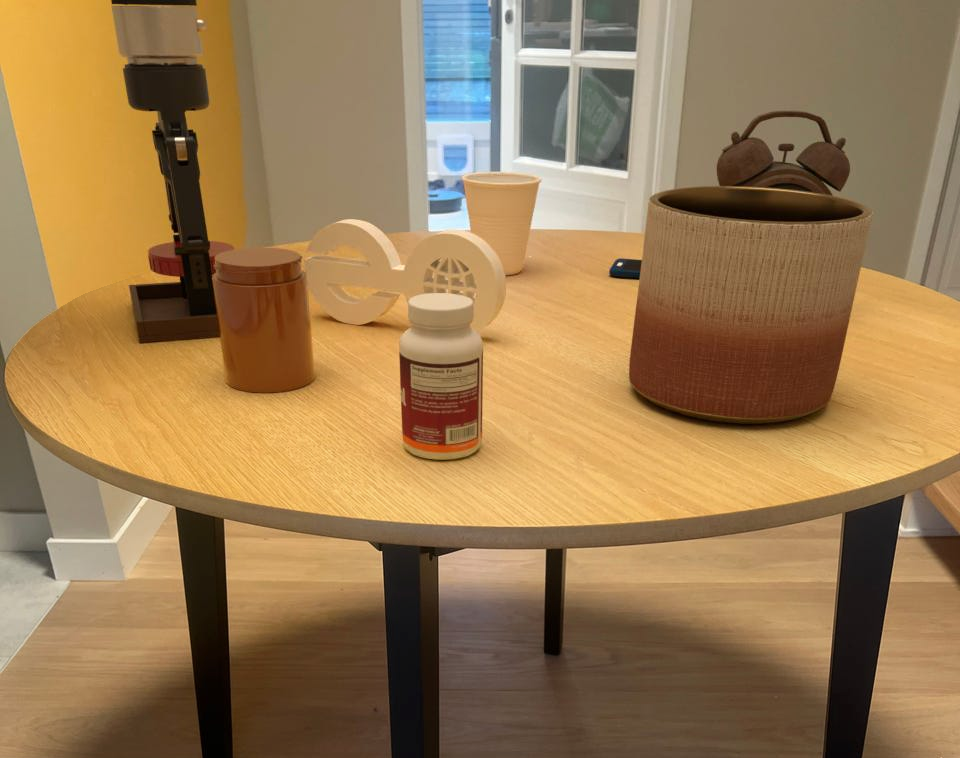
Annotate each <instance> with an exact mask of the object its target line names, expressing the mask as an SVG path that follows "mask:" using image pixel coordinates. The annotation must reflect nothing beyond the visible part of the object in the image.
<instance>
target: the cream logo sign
mask: <svg viewBox="0 0 960 758" xmlns="http://www.w3.org/2000/svg"><path fill="white" fill-rule="evenodd" d="M342 247H350V248H353V249H355V250H357V251H358V252H359V253H361V255H362V256H364V258H365V259H366V260H364V259H356V258H348V257H339V256H331V255H329V254H332V253H334V252H337V251H339V250H340V249H341V248H342ZM305 252H306V253H313V254H314V255H311V256H309V257H306V258H305V259H304V271H305V272H306V274H307V283H308V290H309V291H310V293H311V295H312V296H313V298H314V300H315V302H316V303H317V304H318V305H319V307H320V308H321V309H322V310H323V311H324V312H325V313H326V314H328V315H329V316H330V317H332V318H333V319H334V320H337V321H338V322H340V323H344V324H348V325H357V326H358V325H359V326H360V325H361V326H362V325H365V324H369V323H372V322H373V321H375V320H378V319H379V318H381V317H383V316H384V315H386V314H387V313H388V312H390V311H391V309H392V308H393V307H394V306H395V305H396V303H397V302H398V300H399V298H400V296H401V294H404V297H405V300H406V304H408V301H409V299H410V298H412V297H414V296H417V295H422V294H429V293H449V294H457V295H462V296H466V297H469V298H470V299H472V300H473V305H474V318H473V321H472V323H471V324H470V327H471V328H473V329H474V330H475V331H477V332H478V333H479V332H480V331H482V330H484V329H485V328H486V327H488V326H490V325H491V324H492V323H493V322H494V320H496V318H497V317H498V315H499V314H500V312H501V311H502V309H503V306H504V304H505V300H506V292H507V278H506V275H505V273H504V269H503V266H502V264H501V261H500V259H499V257H498V256H497V254H496V253H495V252H494V250H493V249H492V248H491V247H490V246H489V245H488V243H487V242H485V241H484V240H483V239H481V238H480V237H478V236H477V235H475V234H472V233H471V231H467V230H462V229H446V230H443V231H440V232H437V233H435V234H432V235H430V236H428V237H426V238H424V239H423V240H422V241H420V242H419V243H417V244H416V246H414V247H413V249H412V250H411V252H409V255H408V257H407V259H406V261H405V264H402V262H401V259H400V256H399V253H398V251H397V249H396V248H395V246H394V244H393V243H392V241H391V240H390V239H389V238H388V236H387V235H386V234H385V232H383V231H382V230H380V228H378V227H377V226H375V225H374V224H373V223H370V222H368V221H365V220H362V219H354V218H353V219H352V218H351V219H350V218H347V219H342V220H339V221H336V222H333V223H330V224H328V225H326V226H324V227H322V228H320V229H319V230H318V231H317V232H316V233H315V234H314V235H313V236H312V238H311V240H310V242H309V243H308V246H307V248H306V250H305ZM446 278H447V279H446ZM461 279H462V281H461ZM342 286H346V287H354V288H361V289H367V290H376V291H375V292H374V293H371V294H369V295H367V296H366V297H365V298H359V297H356V296H353V295H352V294H351V295H350V294H349V293H348V292H347V291H346V290H345V289H344V288H343V287H342ZM447 290H448V292H447ZM475 294H476V296H475V298H474V295H475Z"/></svg>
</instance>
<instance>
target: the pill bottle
mask: <svg viewBox="0 0 960 758" xmlns="http://www.w3.org/2000/svg"><path fill="white" fill-rule="evenodd" d="M473 318H474V305H473V300H472V299H470V298H469V297H466V296H462V295H457V294H449V293H448V292H447V293H429V294H422V295H417V296H414V297H412V298H410V299H409V301H408V303H407V319H408V322H409V323H410V324H411V327H409V328H408V329H406V330H405V331H404V332H403V333H402V334H401V336H400V339H399V343H398V345H399V346H398V350H399V351H398V355H399V384H400V385H399V388H400V393H399V394H400V409H401V411H400V412H401V413H400V414H401V436H402V437H401V438H402V443H403V446H404V448H405V449H406V451H408V452H409V453H410V454H412V455H414V456H416V457H419V458H423V459H429V460H438V461H439V460H440V461H441V460H442V461H444V460H445V461H447V460H448V461H449V460H457V459H461V458H465V457H468V456H471V455H472V454H474V453H475V452H476V451H478V449H479V448H480V447H481V445H482V441H483V440H482V439H483V397H484V395H483V394H484V393H483V392H484V391H483V390H484V386H483V385H484V343H483V342H484V341H483V339H482V337H481V335H480V334H479V332H477V331H475V330H474V329H473V328H471V327H470V324H471V323H472V321H473Z"/></svg>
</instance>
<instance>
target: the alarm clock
mask: <svg viewBox="0 0 960 758" xmlns="http://www.w3.org/2000/svg"><path fill="white" fill-rule="evenodd" d="M774 118H801V119H802V118H803V119H807V120H810V121H813V122H815V123H816V124H817V125H818V127H819V130H820V132H821V135H822V138H823V141H816V142H812V143H810V144H809V145H808V146H807V147H805V148H804V149H803V150H802V151H801V153H799V154H798V156H797V157H796V158H795V162H797V164H796V163H792V162H786V159H787V155H788V152H792V151H793V152H794V150H795V144H793V143H780V144H779V145H778V146H777V149H778V151H779V152H783V155H782V161H778V160H774V159H775V158H774V155H773V153H772V151H771V150H770V147H768V144H766V142H765V140H763V139H761V138H759V137H754V136H751V134H752V133H753V131H754V130H755V129H756V128H757V126H758V125H759V124H761V122H764V121H765V122H766V121H768V120H771V119H774ZM750 136H751V137H750ZM730 139H731V142H732V143H731V144H729V145H727V146H725V147H724V148H722V149H721V151H722V152H721V153H720V156H719V157H718V159H717V162H716V163H717V164H716V178H717V182H718V186H747V187H766V188H779V189H790V190H799V191H807V192H814V193H820V194H826V195H831V196H834V195H833V193H832V192H831V191H832V190H830V189H829V187H830V188H832V189H834V190H835V191H837V192H839V193H840V192H842V190H843V188H844V187H845V185H846V183H847V181H848V179H849V176H850V174H851V164H850V160H849V157H848V156H847V155H846V154H845V153H846V152H845V151H844V150H843V148H844V146H845V145H846V142H847V140H846V138H845V137H840V138H838V139H837V141H836V142H835V143H834V142H833V141H832V137H831V134H830V131H829V128H828V125H827V123H826V121H825V120H824V118H822V116H819V115H817V114H813V113H810V112H807V111H802V110H801V111H800V110H772V111H769V112H765V113H762V114H759V115H757V116H756V117H754V118H752V119H751V121H750V123H749V124H748V126H746V128H745V129H744V131H743V133H742V134H741V135H740V133H739V132H737V131H733V132H732V133H731V135H730ZM798 164H799V165H798Z"/></svg>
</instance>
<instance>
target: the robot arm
mask: <svg viewBox="0 0 960 758" xmlns="http://www.w3.org/2000/svg"><path fill="white" fill-rule="evenodd" d="M110 1H111V11H112V16H113V18H112V19H113V23H114V29H115V30H114V31H115V35H116V41H117V48H118V53H119V55H121V56H122V58H126V61H127V63H125V64H124V67H123V68H122V73H123V79H124V85H125V90H126V96H127V97H126V98H127V102H128V105H129V106H130V108H131V109H132V110H135V111H140V112H157V121H158V122H155V126H154V130H151V136H152V142H153V146H154V149H155V151H156V153H157V159H158V166H159V170H160V173H161V175H162V176H163V180H164V185H165V186H164V187H165V192H166V193H165V194H166V200H167V206H168V213H169V214H168V220H169V222H170V223H171V224H170V227H171V228H170V229H171V230H172V231H173V235H172V238H173V242H179V241H181V246H180V247H174V252H175V255H181V259H182V266H183V272H184V277H179V282H180V283H181V289H182V296H183V299H188V305H189V311H190V316H199V315H213V314H217V312H216V305H215V298H214V290H213V283H212V271H211V263H210V256H209V252H208V250H209V249H210V241H211V240H209V235H208V230H207V222H206V216H205V210H204V204H203V197H202V190H201V183H200V180H201V170H200V165H199V164H200V163H199V158H198V151H199V142H198V136H197V132H196V131H194V129H189V128H188V123H187V118H186V112H189V111H191V112H196V111H203V110H206V109H207V108H208V107H209V106H210V95H209V89H208V87H209V86H208V80H207V73H206V72H207V71H206V68H204V66H203V64H200V63H198V59H199V58H201V57H202V56H203V54H204V53H203V44H202V37H201V35H200V34H199V33H198V32H205V31H206V30H207V23H206V21H205V20H204V19H202V18H197V16H198V9H197V6H198V4H197V3H198V2H197V0H110Z"/></svg>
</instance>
